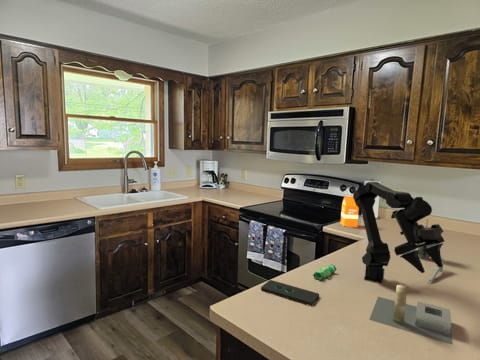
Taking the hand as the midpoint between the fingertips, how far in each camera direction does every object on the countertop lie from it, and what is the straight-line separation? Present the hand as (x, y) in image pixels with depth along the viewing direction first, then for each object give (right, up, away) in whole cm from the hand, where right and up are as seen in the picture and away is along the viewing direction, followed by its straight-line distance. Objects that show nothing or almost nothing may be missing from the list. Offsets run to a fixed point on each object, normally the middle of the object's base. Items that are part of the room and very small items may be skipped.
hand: (432, 269), depth 104 cm
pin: (-13, -15, -5) cm, 21 cm away
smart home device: (-45, -13, +12) cm, 48 cm away
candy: (-28, -11, +29) cm, 41 cm away
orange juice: (+10, -2, +109) cm, 110 cm away
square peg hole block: (-3, -15, -5) cm, 16 cm away
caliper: (+20, -12, +31) cm, 39 cm away
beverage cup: (+27, -9, +52) cm, 60 cm away
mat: (-8, -15, -2) cm, 17 cm away
